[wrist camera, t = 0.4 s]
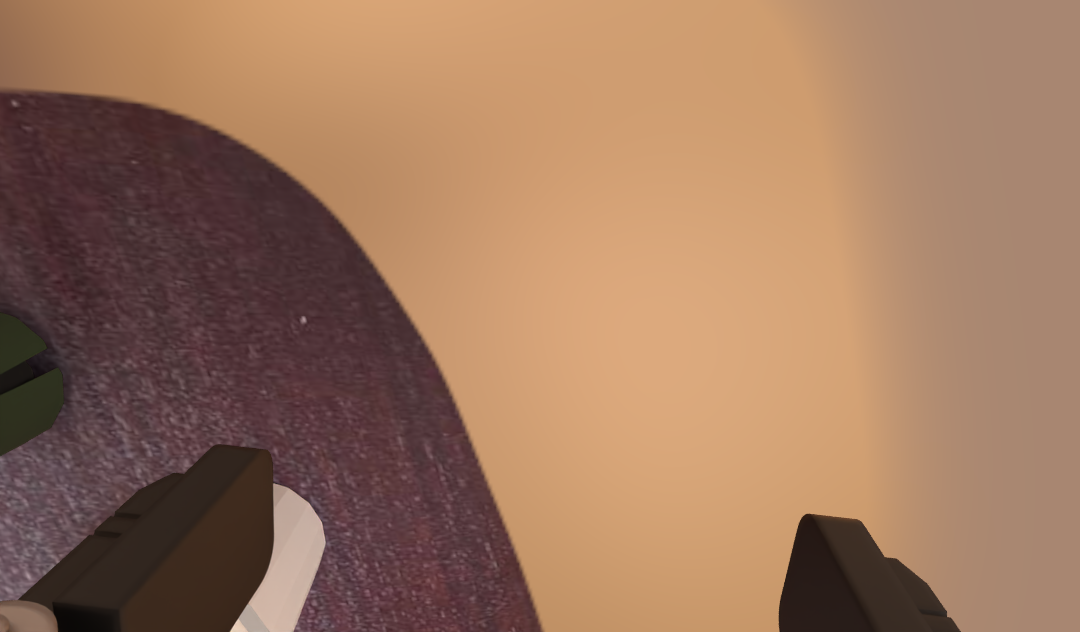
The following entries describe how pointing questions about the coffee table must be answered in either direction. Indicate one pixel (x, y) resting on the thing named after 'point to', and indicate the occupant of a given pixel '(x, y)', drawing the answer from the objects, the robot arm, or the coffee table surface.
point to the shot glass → (286, 566)
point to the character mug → (24, 387)
